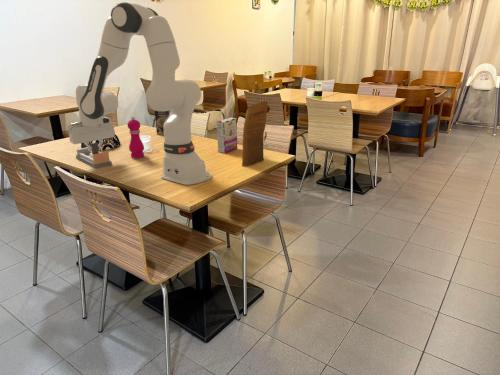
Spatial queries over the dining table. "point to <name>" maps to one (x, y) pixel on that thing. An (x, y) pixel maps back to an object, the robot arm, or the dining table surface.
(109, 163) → the rail board
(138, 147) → the pepper mill
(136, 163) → the dining table surface
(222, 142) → the candy bar box
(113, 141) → the decorative bowl
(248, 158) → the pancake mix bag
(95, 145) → the keeper
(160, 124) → the coffee box
